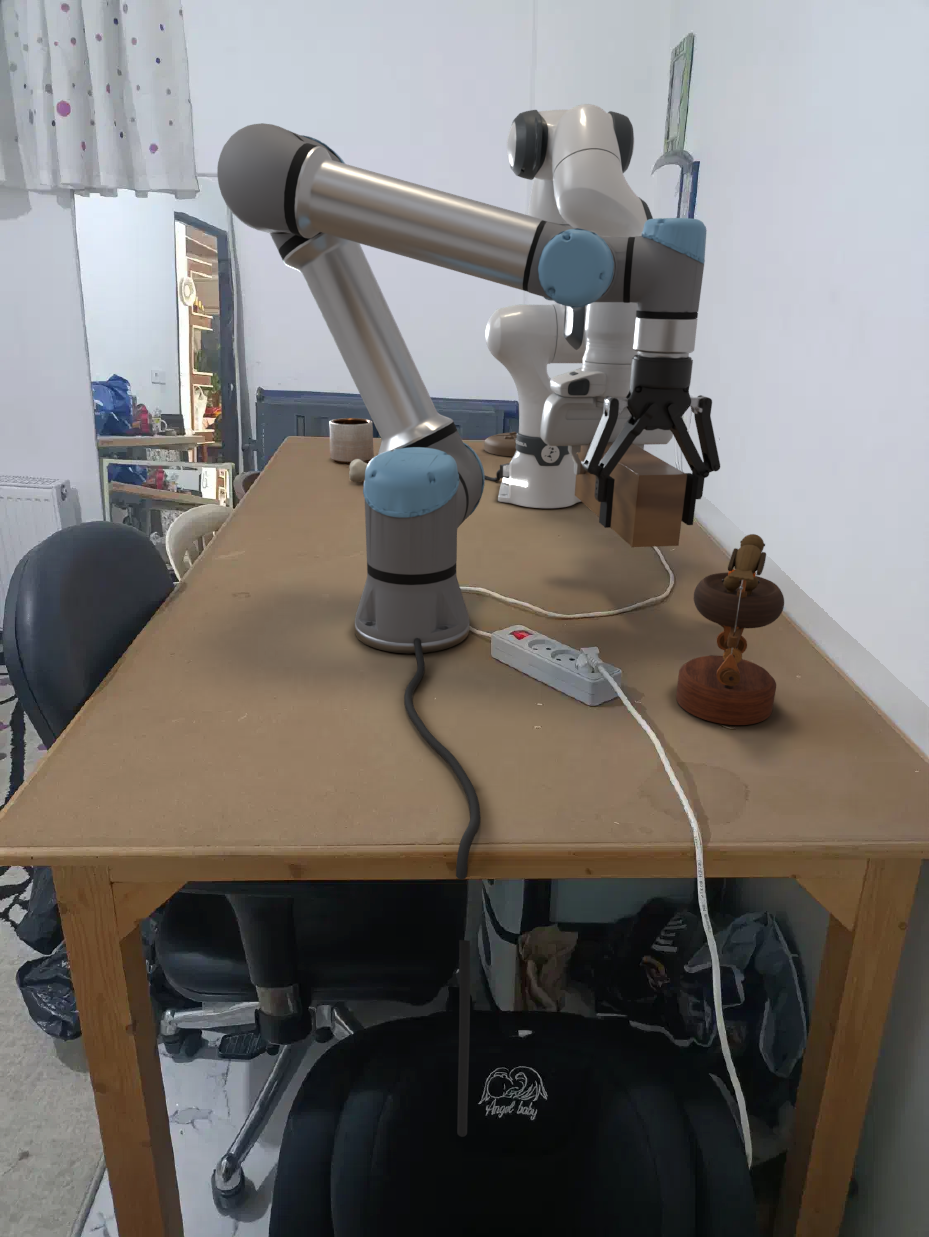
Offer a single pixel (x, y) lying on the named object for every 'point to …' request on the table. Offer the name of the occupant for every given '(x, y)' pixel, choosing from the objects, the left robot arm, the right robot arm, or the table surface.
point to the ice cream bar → (501, 444)
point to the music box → (733, 642)
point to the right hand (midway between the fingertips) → (603, 473)
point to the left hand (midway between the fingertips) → (645, 523)
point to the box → (640, 497)
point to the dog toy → (357, 470)
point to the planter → (351, 440)
